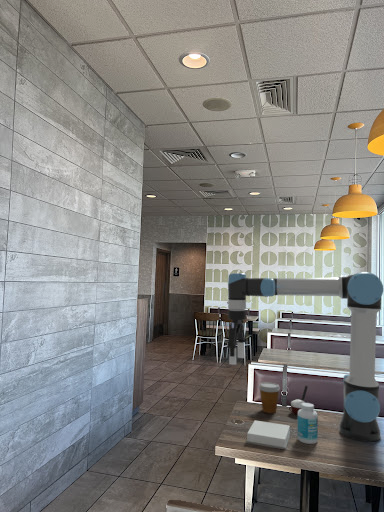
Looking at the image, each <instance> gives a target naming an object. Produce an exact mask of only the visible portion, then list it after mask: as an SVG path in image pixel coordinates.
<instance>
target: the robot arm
mask: <svg viewBox="0 0 384 512" xmlns="http://www.w3.org/2000/svg"><path fill="white" fill-rule="evenodd" d="M227 278H228V281H227V288H228V289H227V296H228V297H227V302H226V304H227V306H228V307H227V308H228V311H227V318H228V320H230V321H231V320H232V322H229V333H228V340H227V345H226V348H227V349H228V351H229V352H228V362H229V363H228V364H229V365H233V366H234V365H237V359H245V343H247V340H246V335H245V326H244V324H245V323H244V321H245V320H247V311H246V309H247V297H265V298H267V297H273V296H294V297H295V296H297V297H298V296H300V297H301V296H302V297H303V296H305V297H307V296H309V297H339V298H340V299H342V300H343V299H345V300H347V302H346V303H347V304H346V305H347V307H346V308H348V309H349V310H350V314H351V315H350V343H349V344H350V345H349V348H350V349H349V374H345V375H344V376H343V380H342V383H343V413H342V416H341V420H340V421H339V426H338V427H339V429H338V431H339V433H340V434H341V435H342V436H344V437H347V438H349V439H352V440H356V441H360V442H376V441H379V440H380V439H381V430H380V426H379V424H378V421H377V418H378V417H379V414H380V412H381V403H380V401H379V399H380V383H379V382H378V381H377V380H376V379H375V378H376V375H375V373H376V345H377V344H376V340H377V339H376V338H377V337H376V336H377V314H378V313H379V312H380V311H381V310H382V296H383V293H384V285H383V281H382V280H381V279H380V278H379V277H378V276H377V275H376V274H374V273H373V272H370V271H360V272H357V273H354V274H349V275H348V274H347V275H346V274H345V275H340V276H339V277H306V278H305V277H302V278H300V277H298V278H297V277H293V278H291V277H290V278H289V277H287V278H286V277H284V278H283V277H282V278H281V277H279V278H278V277H277V278H276V277H275V278H269V277H263V278H262V277H253V278H252V277H250V278H249V277H247V274H246V273H236V272H235V273H233V272H232V273H230V274H229V275H228V277H227Z"/></svg>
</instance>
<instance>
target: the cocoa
mask: <svg viewBox="0 0 384 512" xmlns="http://www.w3.org/2000/svg"><path fill="white" fill-rule="evenodd" d="M308 388H309V386H308V385H305V386H304V390H303V393H302V396H301V399H295V400H292V401H290V406H289V408H288V410H289V411H290V412H291V413H292V414H294V415H296V416H298V411H299V410H300V409H302V407H301V404H302V403H306V402H305V399H306V394H307V392H308Z"/></svg>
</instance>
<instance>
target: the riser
mask: <svg viewBox="0 0 384 512" xmlns="http://www.w3.org/2000/svg"><path fill="white" fill-rule="evenodd" d="M290 428H291V426H290V425H288V424H283V423H275V422H268V421H262V420H261V421H260V420H253V423H252V425H251V426H250V428H249V430H248V431H247V433H246V436H247V437H246V439H247V440H246V444H250V443H251V444H250V445H256V446H257V445H258V446H263V447H268V448H275V449H281V450H287V446H288V444H289V443H288V442H289V441H290V437H291V429H290Z"/></svg>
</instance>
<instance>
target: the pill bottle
mask: <svg viewBox="0 0 384 512" xmlns="http://www.w3.org/2000/svg"><path fill="white" fill-rule="evenodd" d="M301 407H302V409H300V410H299V411H298V415H297V440H298V441H299V442H300V443H303V444H305V445H313V444H316V443H318V437H319V436H318V435H319V434H318V433H319V431H318V427H319V424H318V423H319V419H318V415H319V414H318V413H317V411H316V410H314V409H315V405H314V404H313V403H310V402H305V403H302V404H301Z"/></svg>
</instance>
